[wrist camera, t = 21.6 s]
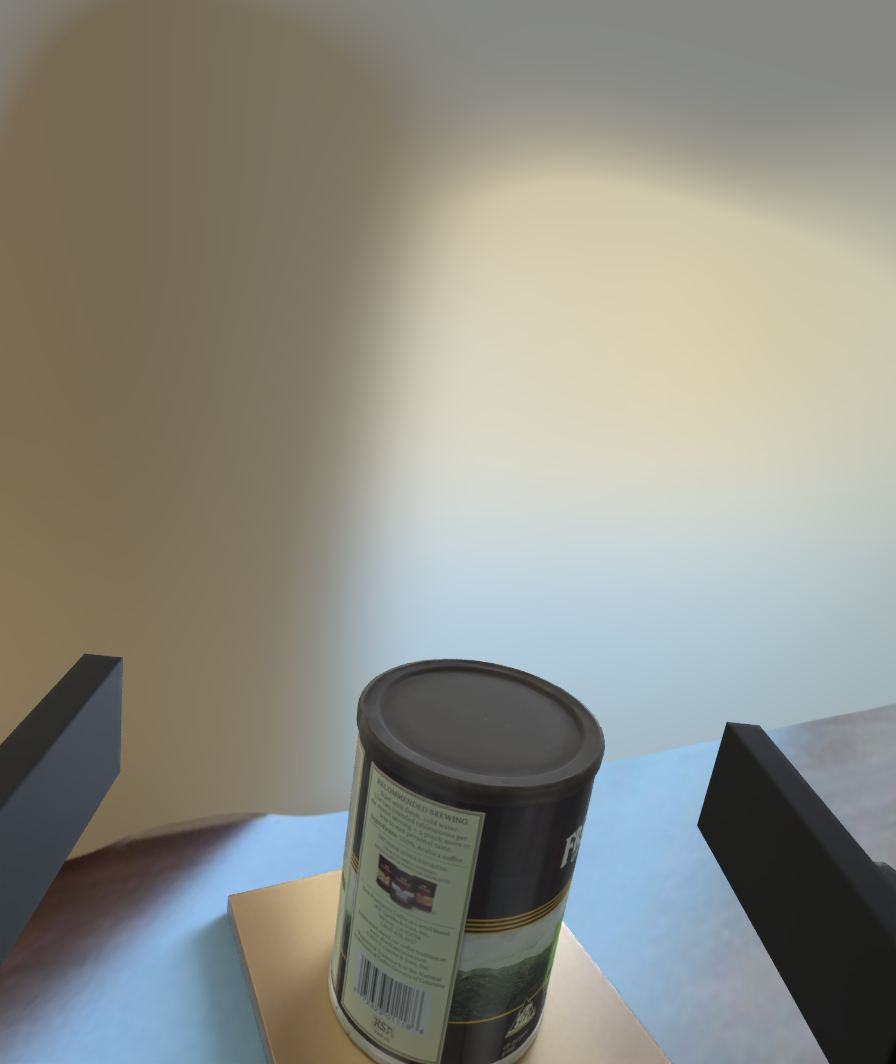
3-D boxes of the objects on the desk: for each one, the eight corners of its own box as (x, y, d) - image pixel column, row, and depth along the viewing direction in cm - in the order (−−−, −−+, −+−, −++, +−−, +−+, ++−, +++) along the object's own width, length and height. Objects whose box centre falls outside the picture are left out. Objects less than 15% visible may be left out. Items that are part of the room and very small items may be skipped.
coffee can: (538, 911, 40) (589, 675, 36) (553, 1106, 30) (625, 810, 26) (348, 880, 40) (378, 642, 36) (300, 1064, 30) (334, 763, 26)
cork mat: (321, 1265, 25) (324, 1244, 25) (226, 910, 38) (227, 894, 38) (676, 1092, 32) (682, 1075, 32) (493, 846, 46) (495, 832, 45)
